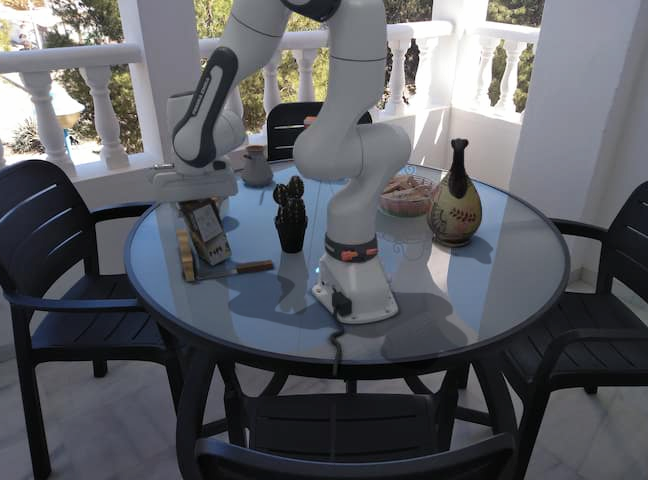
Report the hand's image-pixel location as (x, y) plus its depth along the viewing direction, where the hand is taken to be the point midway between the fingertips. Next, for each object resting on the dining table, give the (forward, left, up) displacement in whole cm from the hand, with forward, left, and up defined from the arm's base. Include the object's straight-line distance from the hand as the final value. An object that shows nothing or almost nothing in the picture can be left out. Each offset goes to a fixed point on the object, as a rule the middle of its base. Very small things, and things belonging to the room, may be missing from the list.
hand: (199, 214), depth 134 cm
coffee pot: (+47, -22, -13) cm, 54 cm away
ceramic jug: (-10, -67, -13) cm, 69 cm away
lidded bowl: (+24, -4, -13) cm, 28 cm away
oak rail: (-1, +5, -13) cm, 13 cm away
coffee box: (0, -3, -12) cm, 12 cm away
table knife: (-10, -6, -13) cm, 17 cm away
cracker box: (+52, -49, -13) cm, 73 cm away
